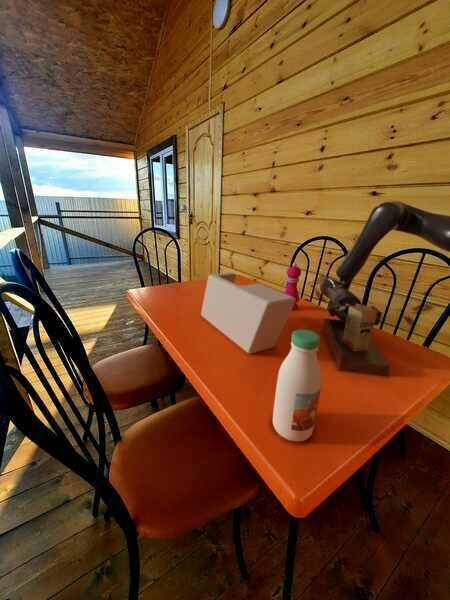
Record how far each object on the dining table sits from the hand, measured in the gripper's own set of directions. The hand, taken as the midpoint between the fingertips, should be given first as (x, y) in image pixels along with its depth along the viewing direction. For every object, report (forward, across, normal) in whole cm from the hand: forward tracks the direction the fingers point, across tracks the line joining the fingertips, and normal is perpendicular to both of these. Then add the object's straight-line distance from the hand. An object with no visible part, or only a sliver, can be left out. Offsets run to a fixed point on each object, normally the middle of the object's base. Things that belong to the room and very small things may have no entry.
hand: (361, 320), depth 71 cm
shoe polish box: (0, 0, +9) cm, 9 cm away
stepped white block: (-7, -35, +12) cm, 38 cm away
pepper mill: (-38, -16, +12) cm, 42 cm away
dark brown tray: (-3, 0, +11) cm, 12 cm away
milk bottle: (+30, -20, +12) cm, 38 cm away
